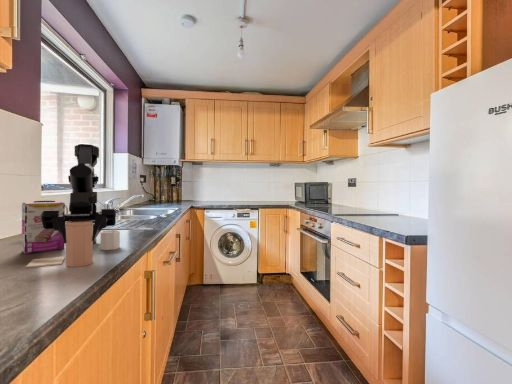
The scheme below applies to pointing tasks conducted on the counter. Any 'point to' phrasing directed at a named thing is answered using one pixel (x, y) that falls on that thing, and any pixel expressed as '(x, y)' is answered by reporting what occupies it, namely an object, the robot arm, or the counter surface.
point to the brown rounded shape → (79, 243)
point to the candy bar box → (39, 228)
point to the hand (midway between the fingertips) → (79, 241)
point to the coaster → (46, 262)
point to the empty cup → (110, 239)
